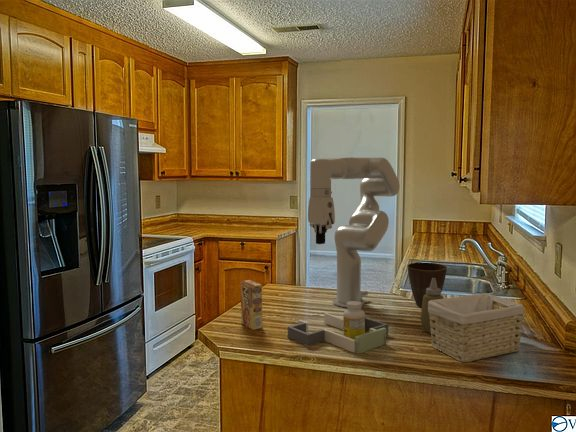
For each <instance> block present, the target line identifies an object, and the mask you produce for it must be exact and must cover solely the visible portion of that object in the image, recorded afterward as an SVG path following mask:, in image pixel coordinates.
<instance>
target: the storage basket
mask: <svg viewBox="0 0 576 432" xmlns="http://www.w3.org/2000/svg"><path fill="white" fill-rule="evenodd" d="M494 305H495V306H498V307H501V308H497V309H495V308H494V307H495V306H494ZM428 312H429V316H430V317H429V318H430V327H431V333H430V336H431V346H432V348H434V349H435V350H437V349H438V350H437V351H439V350H440V352H441V351H442V352H441V353H443V354H444V353H445V354H444V355H446V354H447V356H449V357H450V356H451V357H450V358H452V357H453V359H454V360H456V361H458V362H461V363H470V362H473V361H478V360H483V359H486V358H492V357H497V356H501V355H506V354H511V353H515V352H518V351H520V343H521V333H522V325H523V324H522V323H523V320H524V313H525V309H524V305H523V304H522V303H519V302H517V301H513V300H510V299H508V298H507V299H506V298H503V297H501V296H497V295H494V294H489V293H487V292H483V293H477V294H476V293H475V294H469V295H462V296H456V297H447V298H444V299H437V300H430V301H428Z"/></svg>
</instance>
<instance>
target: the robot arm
mask: <svg viewBox="0 0 576 432" xmlns="http://www.w3.org/2000/svg"><path fill="white" fill-rule="evenodd" d="M309 163H310V165H309V166H310V167H309V168H310V170H309V171H310V174H309V175H310V179H309V180H310V181H309V187H310V188H309V190H310V191H309V192H310V194H309V196H310V197H309V200H308V207H307V209H308V210H307V220H308V223H309V227H311V228H313V230H314V233H315V244H316V245H323V244H326V233H327V232H328V230H329V229H330V230H331V229H333V225H334V224H335V222H336V220H335V219H336V218H335V217H336V212H335V203H334V199H333V197H332V194H333V191H332V180H340V179H342V180H359V179H360V180H361V179H362V180H361V181H360V183H359V191H360V192H359V195H360V203H359V204H358V206H357V208H355V210H354V212H352V214H351V215H350V218H349V220H348V224H346V225H341V226H339V227H337V228H336V229H335V232H334V243H335V249H336V297H335V298H333V299H332V303H333V304H334V305H335V306H337V307H343V308H347V302H349V301H358V302H361V303H362V306H364V305H365V299H363V297H366V296H368V295H369V291H367V290H364V291H362V290H361V286H362V285H361V281H362V280H361V277H362V275H361V274H362V272H361V271H362V261H361V256H360V254H359V251H361V252H373V251H374V250H375V249H376V248H377V247H378V245H379V244H380V242H381V241H382V239H383V238H384V236H385V234H386V232H387V231H388V228H389V224H390V223H389V222H390V221H389V216H388V214H387V213H386V212H385V211H383V210H380V205H379V202H378V201H377V200H376V199H375V197H395V196H396V195H398V193H399V191H400V181H399V178H398V176H397V175H396V172H395V170H394V168H393V166H392V164H391V162H389V160H388V159H386V158H385V157H353V156H352V157H341V158H339V157H338V158H313V159H311V161H310V162H309Z"/></svg>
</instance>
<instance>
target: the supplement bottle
mask: <svg viewBox="0 0 576 432" xmlns="http://www.w3.org/2000/svg"><path fill="white" fill-rule="evenodd" d="M362 307H363V305H362V303H361V302H358V301H349V302H347V307H346V310H344V311H343V315H342V316H343V317H342V318H343V330H342V331H343V336H346V337H348V338H351V339H354V340H355V336H358V335H362V334H365V317H366V313H365V311H364V310H362Z"/></svg>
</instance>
